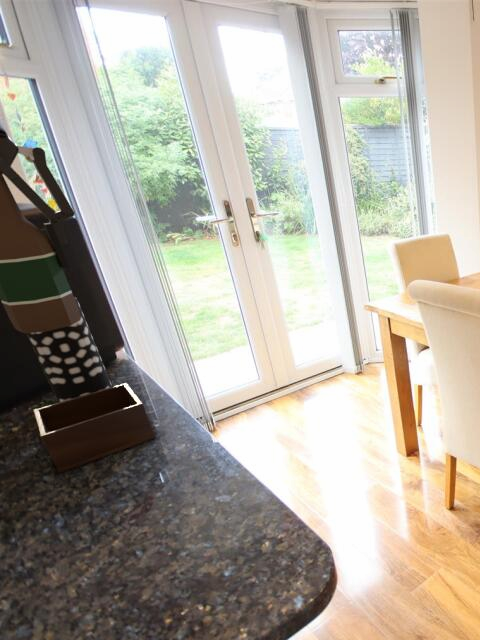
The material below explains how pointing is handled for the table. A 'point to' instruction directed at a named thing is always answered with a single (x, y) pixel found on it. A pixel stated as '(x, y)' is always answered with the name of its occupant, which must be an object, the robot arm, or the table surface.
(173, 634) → the table surface
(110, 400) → the brown wooden open box
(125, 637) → the table surface
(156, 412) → the table surface
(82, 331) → the spotted tube
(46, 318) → the beer bottle
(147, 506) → the table surface
